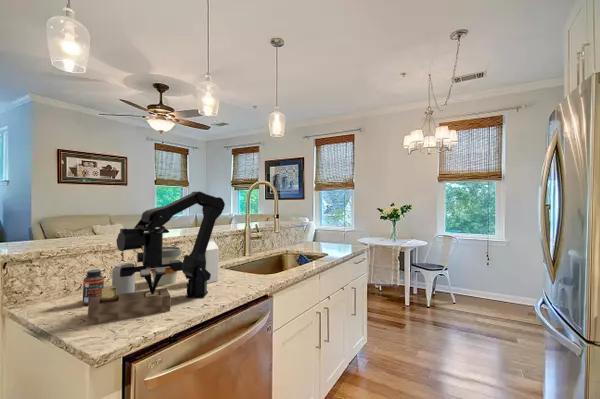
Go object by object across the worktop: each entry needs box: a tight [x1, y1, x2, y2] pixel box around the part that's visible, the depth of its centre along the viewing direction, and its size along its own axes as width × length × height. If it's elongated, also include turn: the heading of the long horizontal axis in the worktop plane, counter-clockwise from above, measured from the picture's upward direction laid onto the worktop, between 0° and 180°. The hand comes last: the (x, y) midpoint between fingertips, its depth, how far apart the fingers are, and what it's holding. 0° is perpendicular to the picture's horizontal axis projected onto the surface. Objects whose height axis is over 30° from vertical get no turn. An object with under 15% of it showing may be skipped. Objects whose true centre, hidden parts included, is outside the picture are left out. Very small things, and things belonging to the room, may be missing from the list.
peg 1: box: [102, 285, 117, 303], centre depth 90 cm, size 4×4×5 cm
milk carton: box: [205, 238, 220, 285], centre depth 130 cm, size 7×7×19 cm
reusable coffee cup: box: [150, 246, 182, 286], centre depth 128 cm, size 13×13×15 cm
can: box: [111, 262, 136, 294], centre depth 109 cm, size 8×8×12 cm
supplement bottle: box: [82, 269, 105, 306], centre depth 101 cm, size 6×6×11 cm
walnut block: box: [87, 287, 171, 326], centre depth 93 cm, size 22×10×5 cm, turn 122°
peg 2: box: [145, 292, 159, 297], centre depth 96 cm, size 4×4×5 cm
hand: (152, 293), depth 96 cm, fingers closed, pressing on peg 2
